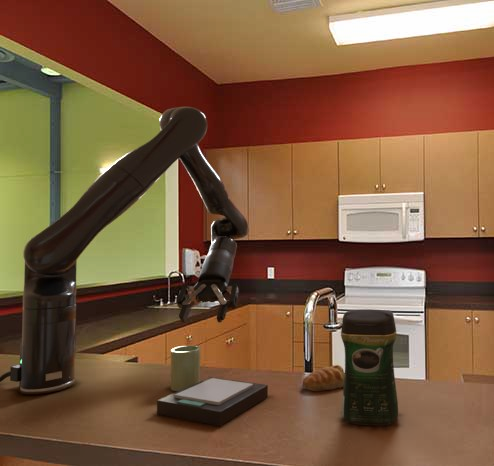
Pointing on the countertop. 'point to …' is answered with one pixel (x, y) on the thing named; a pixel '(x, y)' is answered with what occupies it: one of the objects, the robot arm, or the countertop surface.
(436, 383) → the countertop surface
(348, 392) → the coffee jar
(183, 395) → the scale
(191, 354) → the cup
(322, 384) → the pastry
